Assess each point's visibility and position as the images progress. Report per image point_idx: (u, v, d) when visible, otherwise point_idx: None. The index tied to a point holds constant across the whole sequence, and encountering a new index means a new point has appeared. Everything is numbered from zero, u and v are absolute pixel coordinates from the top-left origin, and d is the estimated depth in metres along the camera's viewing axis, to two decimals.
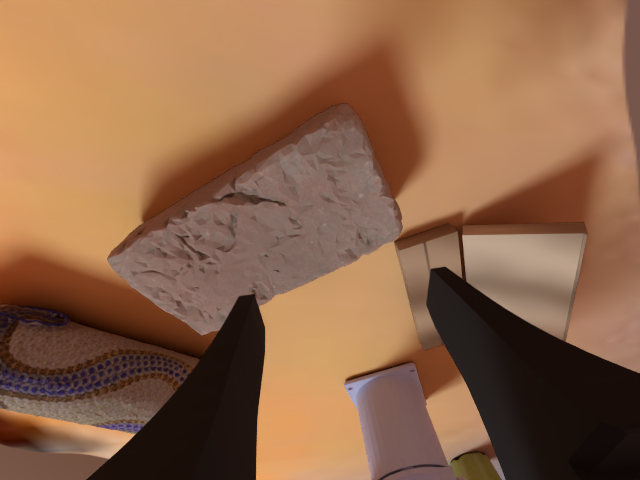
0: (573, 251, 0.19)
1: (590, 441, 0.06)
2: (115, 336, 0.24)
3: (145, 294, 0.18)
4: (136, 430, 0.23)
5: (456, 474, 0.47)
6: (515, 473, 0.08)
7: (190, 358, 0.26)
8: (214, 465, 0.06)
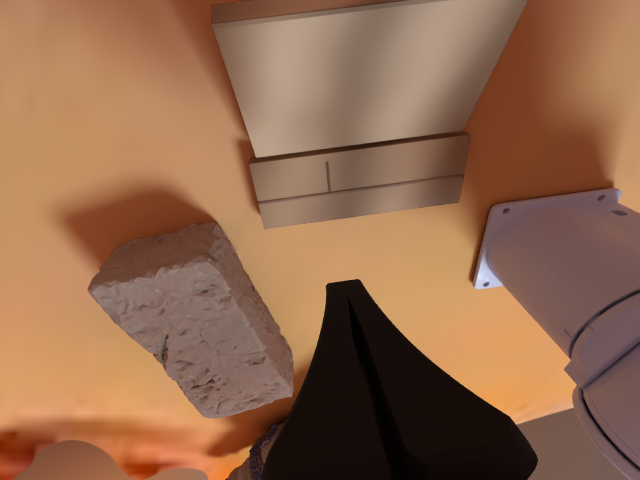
0: (257, 32, 0.11)
1: (409, 470, 0.06)
2: None
3: (237, 412, 0.26)
4: None
5: None
6: None
7: None
8: None
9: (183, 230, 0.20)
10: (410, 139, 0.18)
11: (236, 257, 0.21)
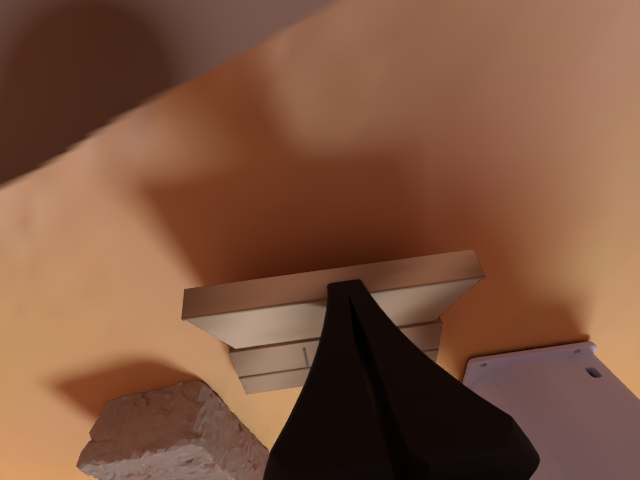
0: (225, 315, 0.12)
1: (412, 469, 0.06)
2: None
3: None
4: None
5: None
6: None
7: None
8: None
9: (170, 389, 0.21)
10: None
11: (222, 407, 0.22)
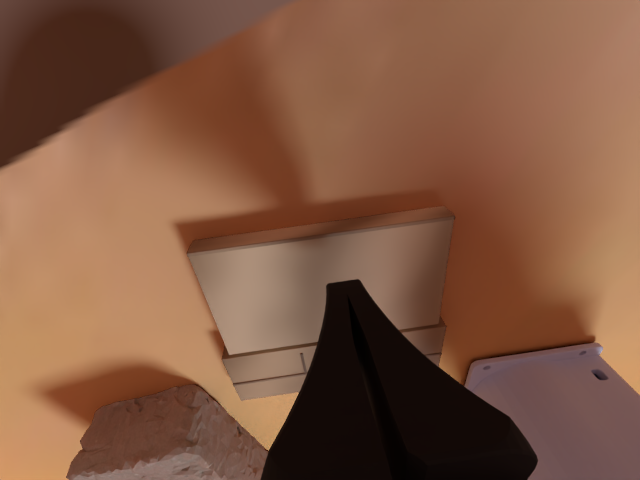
0: (225, 256, 0.13)
1: (409, 470, 0.06)
2: None
3: None
4: None
5: None
6: None
7: None
8: None
9: (164, 394, 0.20)
10: None
11: (219, 411, 0.21)
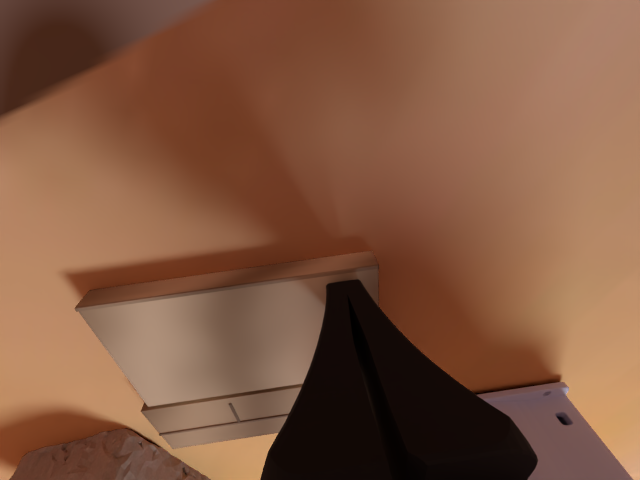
0: (120, 310, 0.12)
1: (409, 470, 0.06)
2: None
3: None
4: None
5: None
6: None
7: None
8: None
9: (93, 440, 0.18)
10: None
11: (157, 455, 0.19)
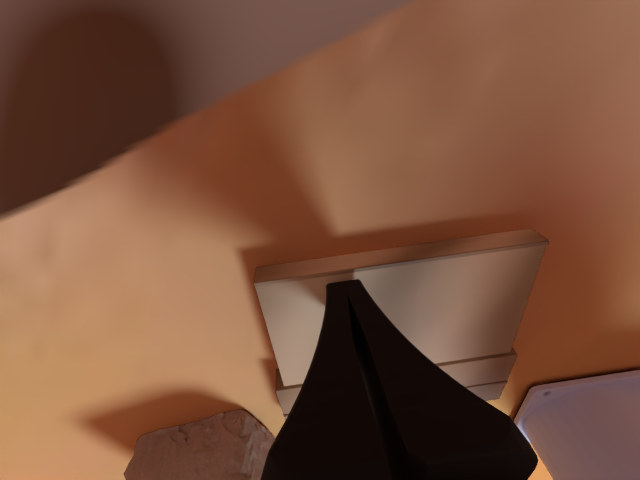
0: (294, 286, 0.12)
1: (409, 470, 0.06)
2: None
3: None
4: None
5: None
6: None
7: None
8: None
9: (210, 421, 0.18)
10: None
11: (267, 437, 0.20)
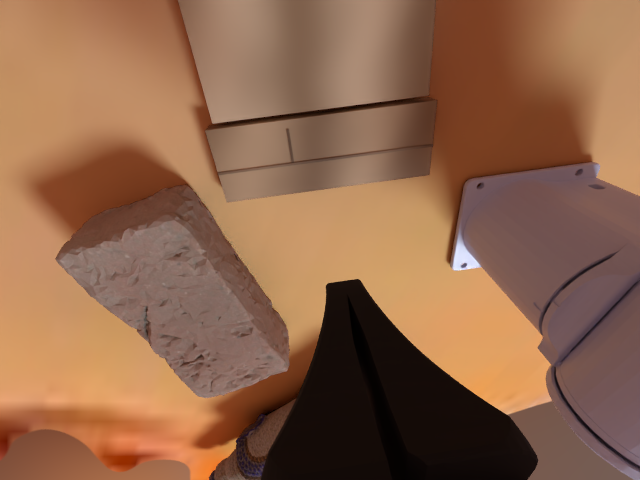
0: None
1: (410, 470, 0.06)
2: (289, 403, 0.32)
3: (231, 390, 0.25)
4: None
5: None
6: None
7: None
8: None
9: (154, 195, 0.19)
10: (375, 106, 0.17)
11: (213, 222, 0.20)
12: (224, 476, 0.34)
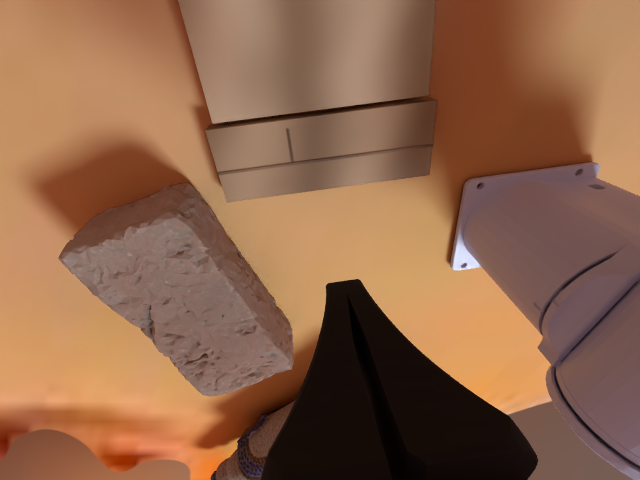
0: None
1: (410, 470, 0.06)
2: (290, 404, 0.32)
3: (236, 389, 0.25)
4: None
5: None
6: None
7: None
8: None
9: (156, 194, 0.19)
10: (375, 106, 0.17)
11: (215, 219, 0.20)
12: (226, 476, 0.34)
